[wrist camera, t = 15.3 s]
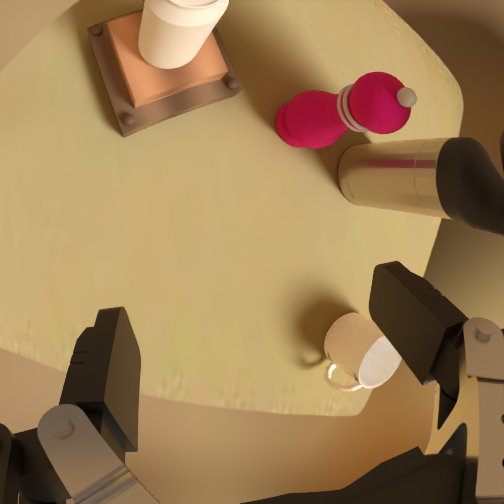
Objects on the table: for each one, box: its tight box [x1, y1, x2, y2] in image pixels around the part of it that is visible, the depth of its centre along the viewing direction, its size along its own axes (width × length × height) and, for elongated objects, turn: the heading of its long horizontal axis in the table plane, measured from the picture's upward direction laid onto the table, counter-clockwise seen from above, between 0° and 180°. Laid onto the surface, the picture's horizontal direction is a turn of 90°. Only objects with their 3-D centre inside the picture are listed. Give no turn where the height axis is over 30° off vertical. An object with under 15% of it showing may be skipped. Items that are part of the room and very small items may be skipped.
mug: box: [324, 313, 402, 391], centre depth 46 cm, size 12×9×9 cm
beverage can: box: [138, 0, 229, 69], centre depth 21 cm, size 6×6×12 cm
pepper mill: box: [276, 72, 417, 149], centre depth 31 cm, size 7×7×20 cm
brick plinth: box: [87, 9, 242, 137], centre depth 29 cm, size 14×14×6 cm
